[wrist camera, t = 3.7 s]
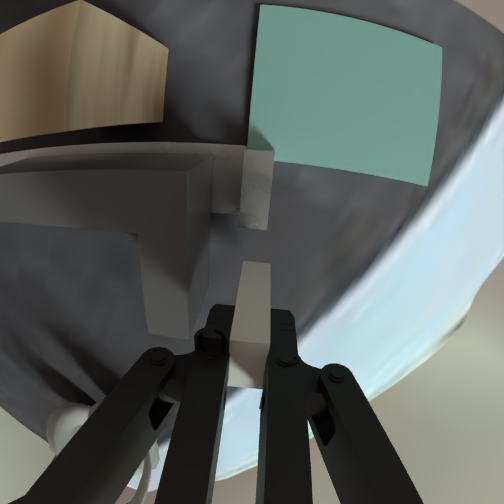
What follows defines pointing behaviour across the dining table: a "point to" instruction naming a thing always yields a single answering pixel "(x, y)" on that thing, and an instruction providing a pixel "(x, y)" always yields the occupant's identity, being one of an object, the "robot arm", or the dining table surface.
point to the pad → (344, 94)
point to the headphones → (69, 422)
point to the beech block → (78, 73)
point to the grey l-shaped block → (129, 218)
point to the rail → (223, 175)
